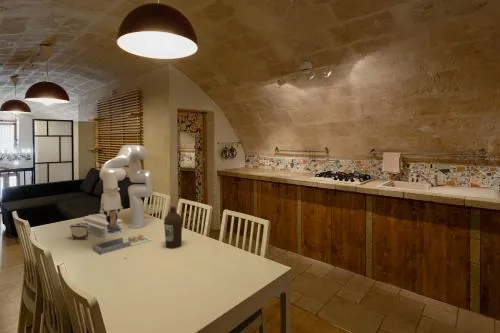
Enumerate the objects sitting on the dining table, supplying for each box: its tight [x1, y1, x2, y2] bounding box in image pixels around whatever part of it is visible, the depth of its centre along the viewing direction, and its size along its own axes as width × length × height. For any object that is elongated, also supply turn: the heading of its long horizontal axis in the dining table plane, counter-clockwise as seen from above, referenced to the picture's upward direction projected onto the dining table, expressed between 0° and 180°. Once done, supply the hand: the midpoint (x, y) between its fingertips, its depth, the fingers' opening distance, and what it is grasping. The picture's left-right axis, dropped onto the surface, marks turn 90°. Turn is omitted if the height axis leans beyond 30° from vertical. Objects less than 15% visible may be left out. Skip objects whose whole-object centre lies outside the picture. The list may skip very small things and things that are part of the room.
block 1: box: [127, 234, 138, 244], centre depth 176 cm, size 4×4×4 cm
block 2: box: [134, 233, 145, 243], centre depth 179 cm, size 4×4×4 cm
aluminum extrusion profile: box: [79, 213, 124, 239], centre depth 201 cm, size 14×31×10 cm, turn 56°
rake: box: [107, 210, 118, 232], centre depth 166 cm, size 3×8×12 cm, turn 49°
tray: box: [123, 235, 153, 247], centre depth 178 cm, size 13×14×2 cm
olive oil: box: [163, 204, 183, 249], centre depth 172 cm, size 11×11×25 cm
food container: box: [69, 222, 89, 241], centre depth 185 cm, size 12×6×10 cm, turn 84°
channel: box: [92, 237, 132, 255], centre depth 167 cm, size 17×11×4 cm
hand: (112, 221), depth 166 cm, fingers closed on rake, 3 cm apart
